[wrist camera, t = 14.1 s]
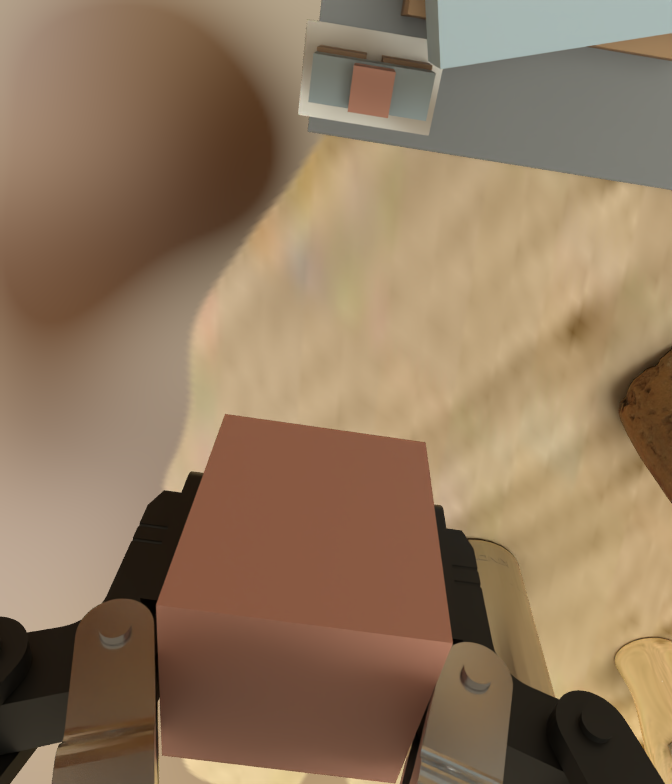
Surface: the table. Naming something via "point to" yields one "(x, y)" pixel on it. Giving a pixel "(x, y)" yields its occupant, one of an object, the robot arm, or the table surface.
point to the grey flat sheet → (534, 107)
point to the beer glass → (651, 696)
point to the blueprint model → (368, 78)
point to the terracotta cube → (304, 604)
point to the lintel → (534, 26)
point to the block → (652, 420)
